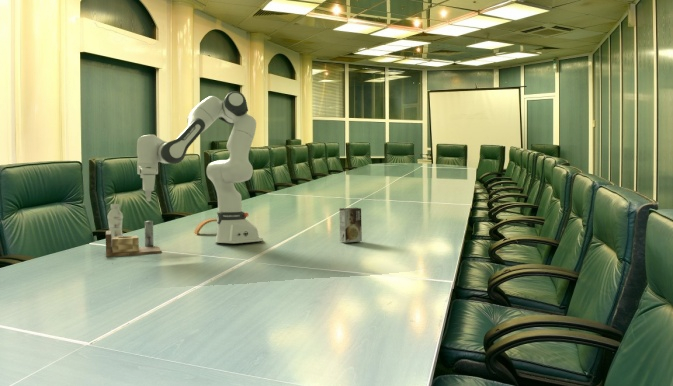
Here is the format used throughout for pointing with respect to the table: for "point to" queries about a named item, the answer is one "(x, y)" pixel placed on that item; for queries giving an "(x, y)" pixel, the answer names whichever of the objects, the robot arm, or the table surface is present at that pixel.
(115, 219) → the plastic bottle
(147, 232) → the dowel
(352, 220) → the coffee box
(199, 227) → the arch
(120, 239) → the tan square frame
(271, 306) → the table surface
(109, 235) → the jig
